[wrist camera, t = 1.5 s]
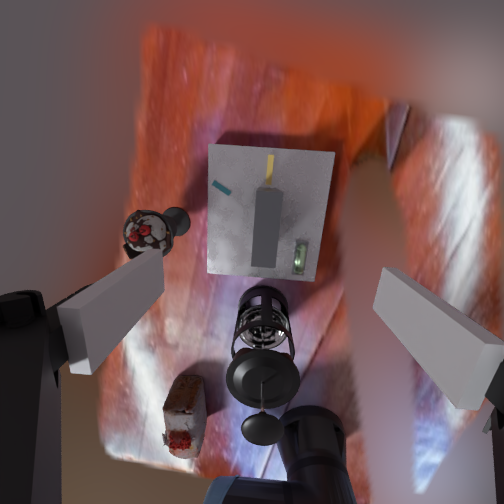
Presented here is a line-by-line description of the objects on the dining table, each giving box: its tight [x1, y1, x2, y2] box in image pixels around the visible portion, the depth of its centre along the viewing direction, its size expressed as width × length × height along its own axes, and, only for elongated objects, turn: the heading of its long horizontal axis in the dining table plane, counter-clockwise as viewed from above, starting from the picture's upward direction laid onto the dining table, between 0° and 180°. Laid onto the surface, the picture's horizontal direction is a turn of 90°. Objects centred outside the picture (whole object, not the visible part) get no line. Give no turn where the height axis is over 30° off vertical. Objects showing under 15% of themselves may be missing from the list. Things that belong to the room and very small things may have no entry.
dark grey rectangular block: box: [251, 155, 283, 268], centre depth 31 cm, size 14×3×9 cm, turn 176°
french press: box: [226, 285, 300, 446], centre depth 33 cm, size 12×9×23 cm
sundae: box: [123, 207, 190, 259], centre depth 33 cm, size 7×7×15 cm
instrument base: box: [207, 144, 335, 282], centre depth 37 cm, size 20×18×5 cm
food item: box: [162, 376, 207, 459], centre depth 47 cm, size 14×8×10 cm, turn 1°
